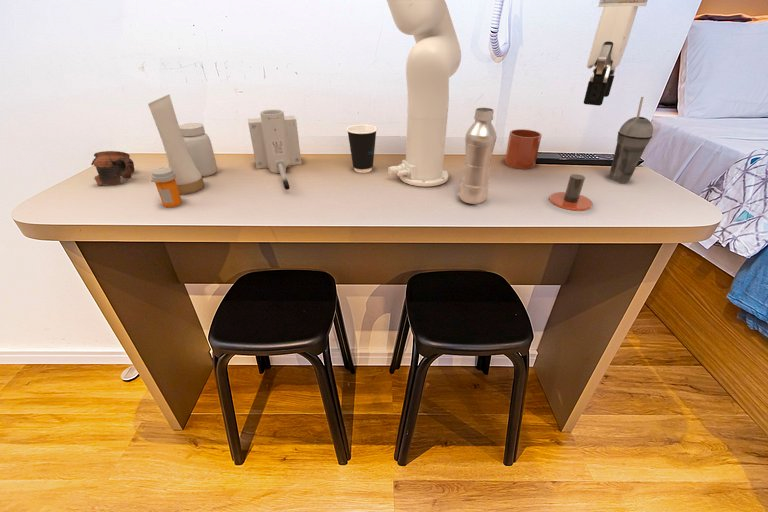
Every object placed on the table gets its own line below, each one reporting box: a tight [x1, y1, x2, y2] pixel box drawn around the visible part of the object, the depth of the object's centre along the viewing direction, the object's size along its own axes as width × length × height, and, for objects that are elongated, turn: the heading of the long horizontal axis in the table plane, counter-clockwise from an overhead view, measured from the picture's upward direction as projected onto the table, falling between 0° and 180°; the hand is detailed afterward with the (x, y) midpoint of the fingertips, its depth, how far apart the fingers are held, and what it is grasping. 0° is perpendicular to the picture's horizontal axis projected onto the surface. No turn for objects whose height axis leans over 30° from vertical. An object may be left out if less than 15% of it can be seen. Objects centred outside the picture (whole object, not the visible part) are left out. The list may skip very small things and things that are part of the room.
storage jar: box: [504, 128, 543, 170], centre depth 106 cm, size 8×8×8 cm
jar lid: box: [549, 173, 593, 212], centre depth 85 cm, size 9×9×7 cm
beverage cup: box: [608, 96, 654, 184], centre depth 93 cm, size 7×7×20 cm
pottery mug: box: [90, 150, 136, 186], centre depth 97 cm, size 12×10×8 cm
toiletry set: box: [147, 94, 218, 209], centre depth 89 cm, size 25×8×21 cm, turn 2°
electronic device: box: [247, 109, 302, 191], centre depth 96 cm, size 12×26×15 cm, turn 18°
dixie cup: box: [345, 124, 378, 174], centre depth 102 cm, size 8×8×11 cm
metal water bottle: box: [458, 107, 498, 205], centre depth 82 cm, size 6×7×20 cm
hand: (596, 100), depth 77 cm, fingers open, 9 cm apart
